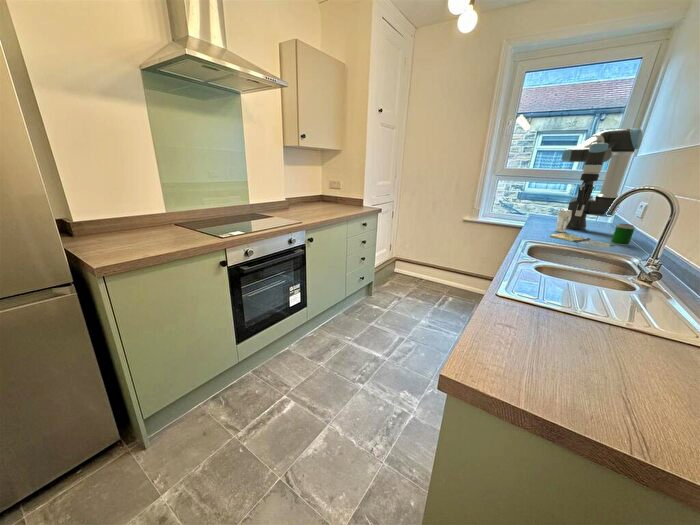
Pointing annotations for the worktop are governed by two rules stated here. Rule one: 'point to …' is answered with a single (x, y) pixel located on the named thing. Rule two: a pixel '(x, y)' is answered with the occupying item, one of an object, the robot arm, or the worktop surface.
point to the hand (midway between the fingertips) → (577, 215)
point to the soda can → (623, 234)
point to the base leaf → (596, 243)
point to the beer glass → (563, 220)
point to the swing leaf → (568, 237)
